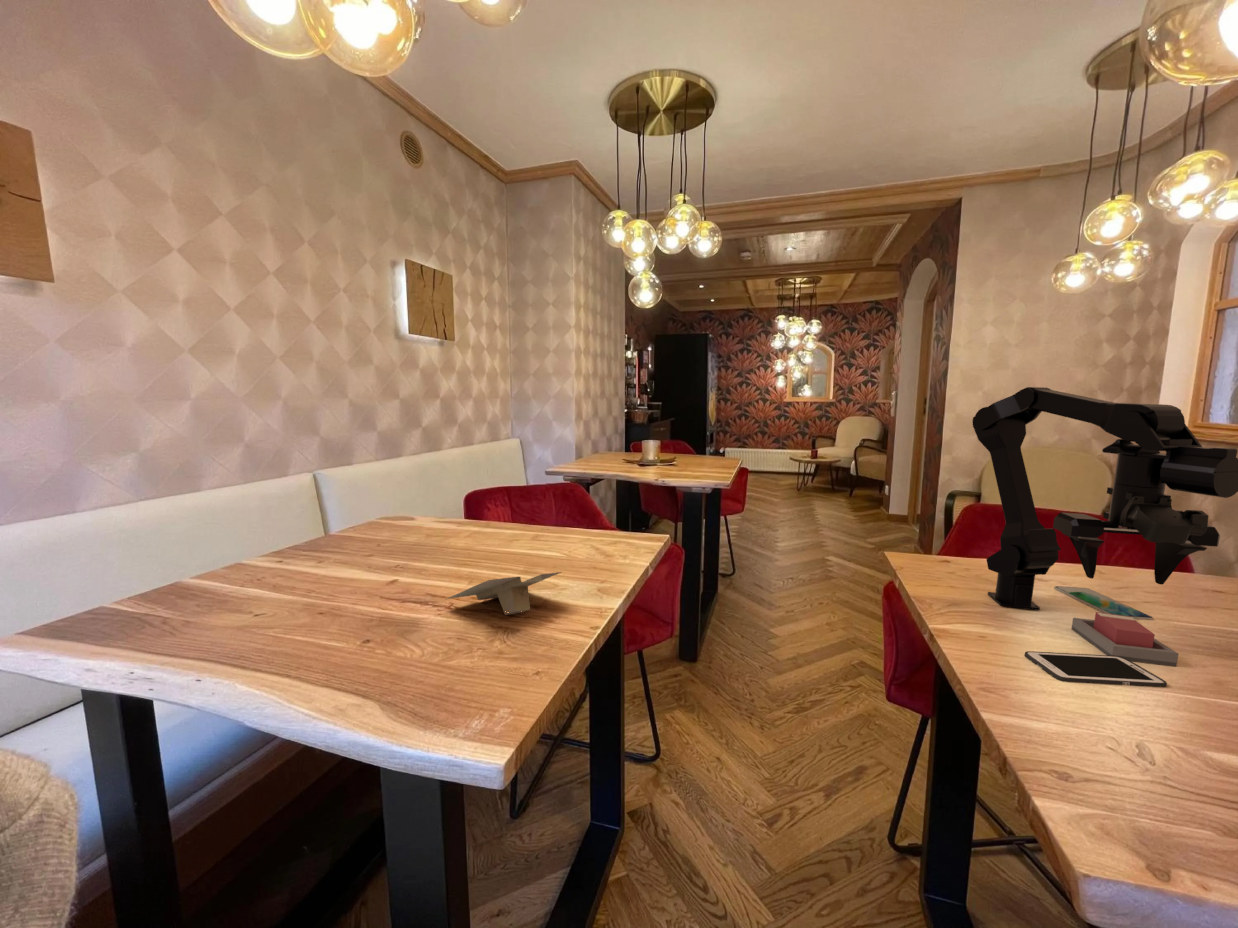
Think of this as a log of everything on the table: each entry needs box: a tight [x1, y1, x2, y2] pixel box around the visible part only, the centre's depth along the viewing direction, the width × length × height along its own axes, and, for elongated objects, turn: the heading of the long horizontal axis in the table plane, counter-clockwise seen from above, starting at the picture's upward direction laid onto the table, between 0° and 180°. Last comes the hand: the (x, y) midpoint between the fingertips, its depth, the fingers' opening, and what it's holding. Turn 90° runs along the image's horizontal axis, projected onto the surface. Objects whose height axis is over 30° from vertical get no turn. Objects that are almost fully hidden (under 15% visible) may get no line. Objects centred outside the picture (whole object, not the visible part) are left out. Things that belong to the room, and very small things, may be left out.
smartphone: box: [1053, 585, 1154, 621], centre depth 102 cm, size 7×1×15 cm
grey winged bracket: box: [445, 571, 563, 616], centre depth 93 cm, size 16×9×15 cm
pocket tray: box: [1071, 617, 1179, 667], centre depth 84 cm, size 11×8×2 cm
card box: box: [1093, 611, 1155, 648], centre depth 84 cm, size 7×4×4 cm, turn 158°
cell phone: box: [1024, 650, 1168, 688], centre depth 77 cm, size 8×15×1 cm, turn 85°
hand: (1124, 580), depth 83 cm, fingers open, 9 cm apart
